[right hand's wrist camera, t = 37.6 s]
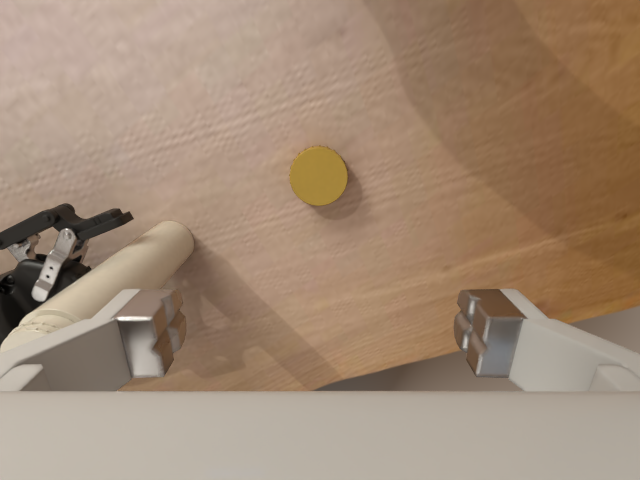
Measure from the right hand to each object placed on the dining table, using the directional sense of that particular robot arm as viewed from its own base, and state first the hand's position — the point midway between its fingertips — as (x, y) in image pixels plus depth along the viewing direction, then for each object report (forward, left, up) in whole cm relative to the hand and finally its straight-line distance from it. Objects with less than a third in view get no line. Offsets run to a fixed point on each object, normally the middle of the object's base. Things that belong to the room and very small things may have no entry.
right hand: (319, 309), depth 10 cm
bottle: (+16, -6, -25) cm, 30 cm away
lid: (0, 0, -23) cm, 23 cm away
